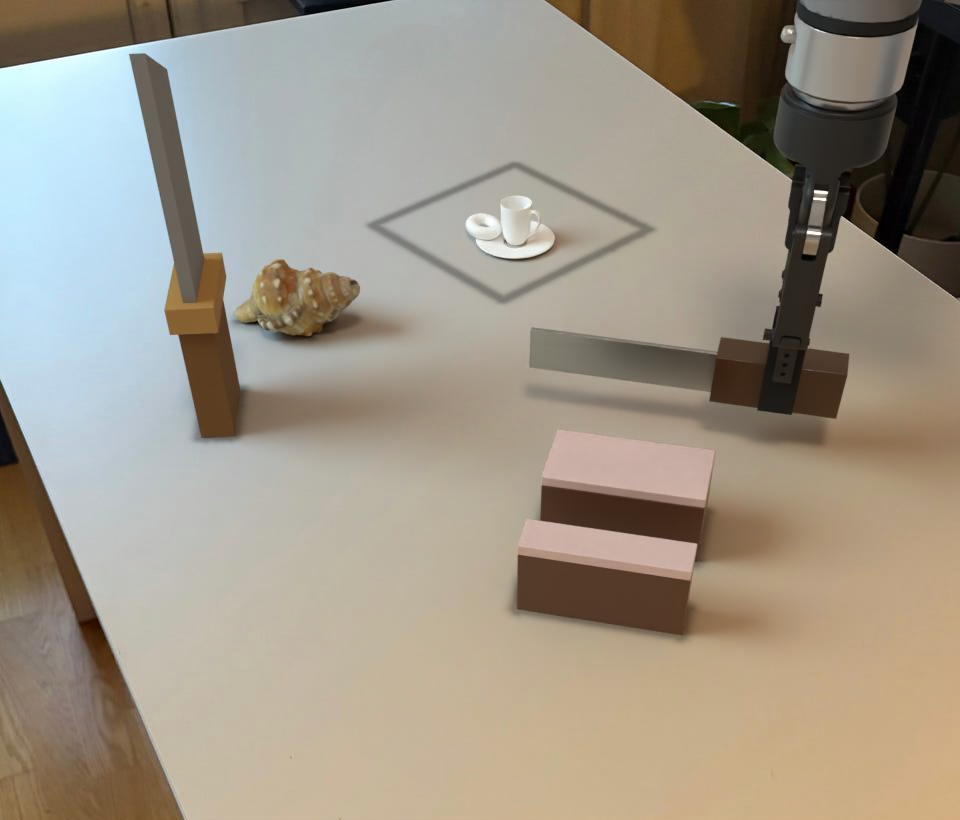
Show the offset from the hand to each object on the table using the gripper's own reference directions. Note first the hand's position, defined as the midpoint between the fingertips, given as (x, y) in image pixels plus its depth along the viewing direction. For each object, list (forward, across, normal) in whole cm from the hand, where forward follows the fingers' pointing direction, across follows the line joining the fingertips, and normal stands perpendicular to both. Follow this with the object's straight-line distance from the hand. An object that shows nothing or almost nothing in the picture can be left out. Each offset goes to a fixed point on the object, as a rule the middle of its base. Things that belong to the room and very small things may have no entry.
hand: (776, 396), depth 97 cm
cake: (+5, +13, -10) cm, 17 cm away
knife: (+5, +6, -46) cm, 46 cm away
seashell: (+5, -9, -44) cm, 45 cm away
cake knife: (0, 0, -8) cm, 8 cm away
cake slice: (+5, +23, -10) cm, 25 cm away
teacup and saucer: (+5, -31, -29) cm, 43 cm away
